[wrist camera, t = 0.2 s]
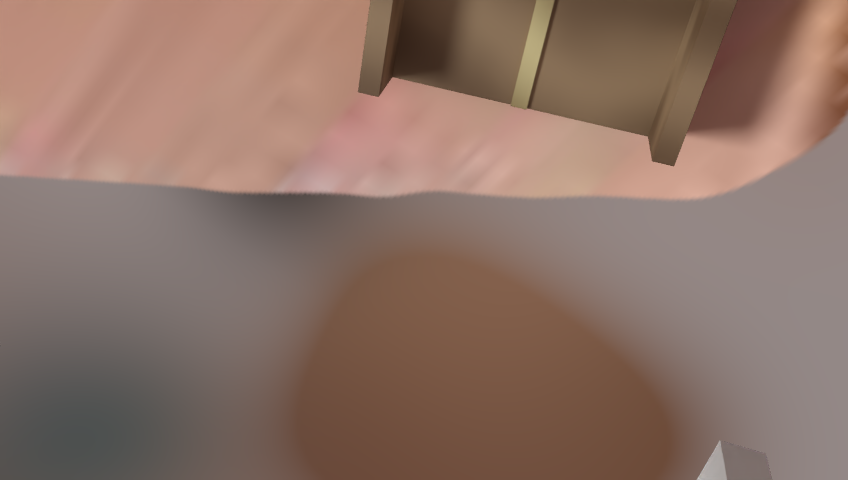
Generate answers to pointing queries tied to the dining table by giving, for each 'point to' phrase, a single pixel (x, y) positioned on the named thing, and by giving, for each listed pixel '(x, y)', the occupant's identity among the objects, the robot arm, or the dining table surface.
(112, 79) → the dining table surface
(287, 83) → the dining table surface
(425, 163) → the dining table surface
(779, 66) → the dining table surface
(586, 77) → the track
